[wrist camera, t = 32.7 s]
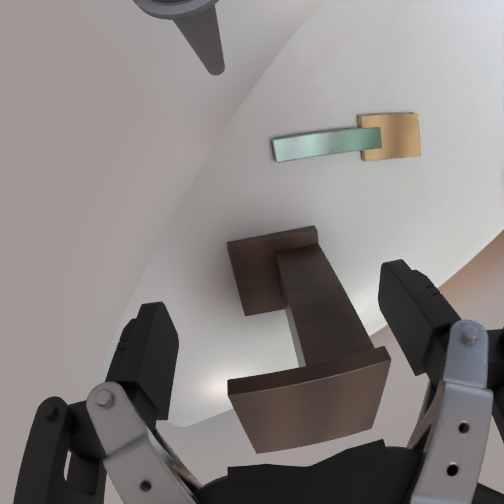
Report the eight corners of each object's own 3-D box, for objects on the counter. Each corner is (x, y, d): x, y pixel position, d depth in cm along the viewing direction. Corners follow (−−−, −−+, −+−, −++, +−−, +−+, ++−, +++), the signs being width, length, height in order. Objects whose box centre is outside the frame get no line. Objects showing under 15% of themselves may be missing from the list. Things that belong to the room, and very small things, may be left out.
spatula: (277, 172, 36) (278, 175, 34) (268, 126, 33) (270, 126, 32) (416, 154, 35) (421, 156, 34) (413, 113, 32) (419, 114, 31)
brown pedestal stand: (244, 310, 46) (256, 454, 24) (227, 242, 40) (227, 395, 19) (320, 295, 45) (371, 428, 24) (314, 225, 40) (392, 359, 18)
